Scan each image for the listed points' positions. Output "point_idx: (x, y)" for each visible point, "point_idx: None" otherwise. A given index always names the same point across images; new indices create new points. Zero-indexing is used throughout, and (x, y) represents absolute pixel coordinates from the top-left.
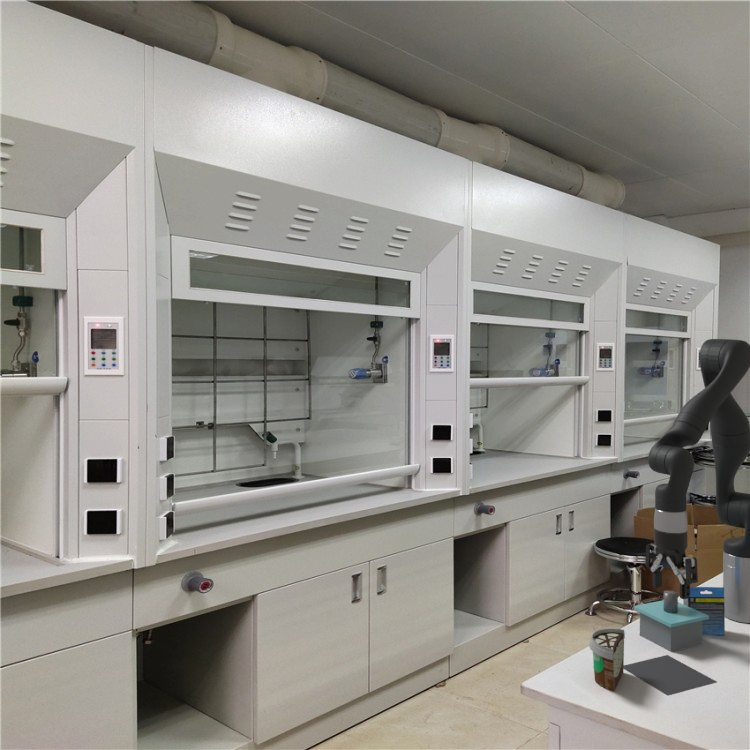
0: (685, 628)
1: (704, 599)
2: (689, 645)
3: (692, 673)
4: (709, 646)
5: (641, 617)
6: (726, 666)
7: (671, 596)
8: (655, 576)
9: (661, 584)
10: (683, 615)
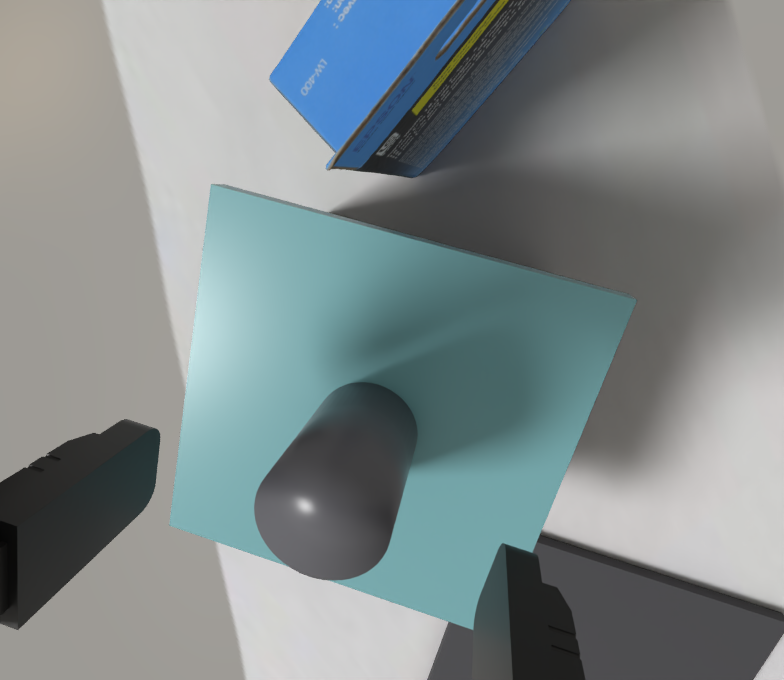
0: None
1: (477, 33)
2: None
3: (662, 619)
4: (578, 241)
5: None
6: (752, 413)
7: (367, 563)
8: (53, 589)
9: (144, 440)
10: (479, 446)
